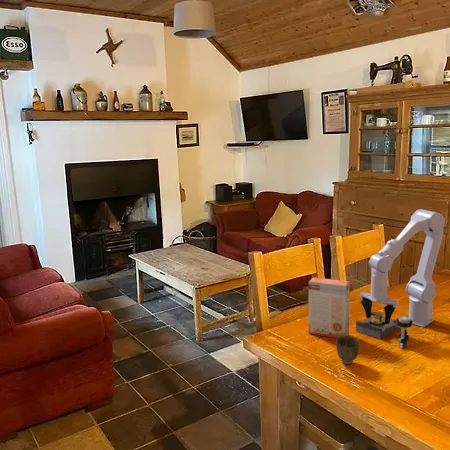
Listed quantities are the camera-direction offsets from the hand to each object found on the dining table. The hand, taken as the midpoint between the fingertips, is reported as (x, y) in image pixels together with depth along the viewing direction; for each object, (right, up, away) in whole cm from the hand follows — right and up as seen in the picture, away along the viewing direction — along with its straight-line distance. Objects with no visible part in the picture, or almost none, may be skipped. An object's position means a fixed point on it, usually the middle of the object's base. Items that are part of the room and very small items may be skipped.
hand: (377, 320), depth 172 cm
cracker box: (-19, -5, -2) cm, 20 cm away
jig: (0, -4, +1) cm, 4 cm away
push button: (+4, -6, -13) cm, 15 cm away
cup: (-18, -9, -23) cm, 31 cm away
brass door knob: (0, -4, +1) cm, 4 cm away
